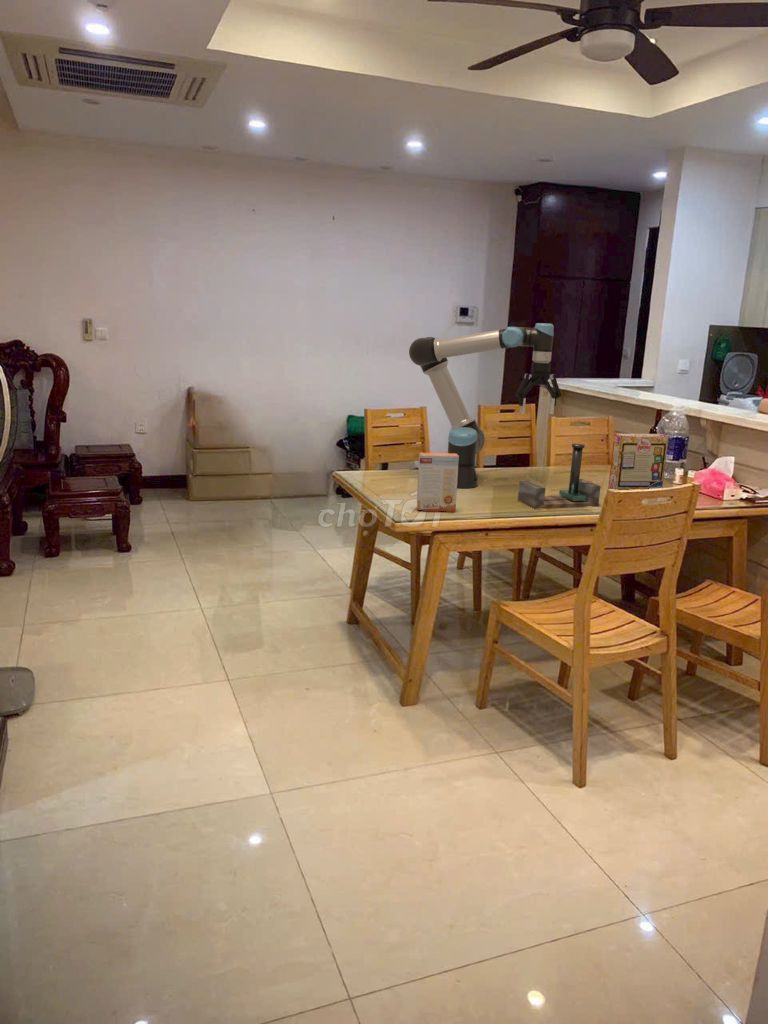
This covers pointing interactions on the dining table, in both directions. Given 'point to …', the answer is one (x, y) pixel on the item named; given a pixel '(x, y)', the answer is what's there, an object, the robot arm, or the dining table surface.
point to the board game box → (638, 461)
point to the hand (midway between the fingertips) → (536, 413)
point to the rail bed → (557, 496)
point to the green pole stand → (575, 476)
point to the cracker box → (437, 481)
